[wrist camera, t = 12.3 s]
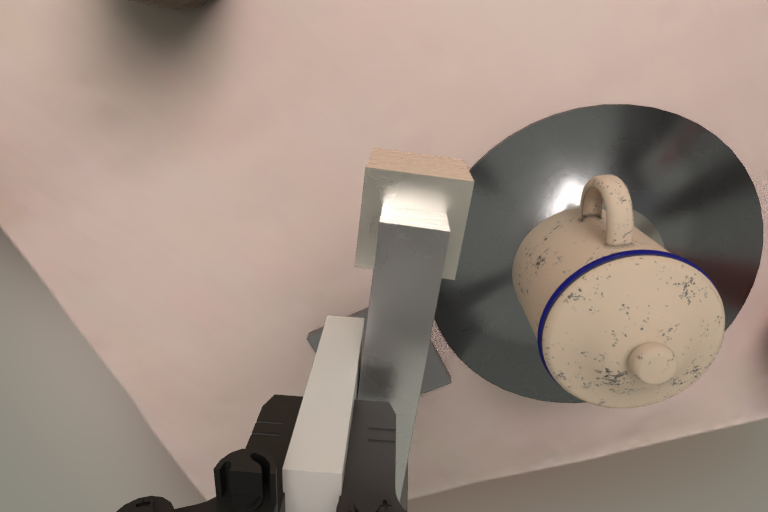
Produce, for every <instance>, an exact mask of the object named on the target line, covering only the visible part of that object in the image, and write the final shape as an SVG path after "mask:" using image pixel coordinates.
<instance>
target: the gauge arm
mask: <svg viewBox="0 0 768 512" xmlns="http://www.w3.org/2000/svg"><path fill="white" fill-rule="evenodd" d="M473 187H474V180H473V178H472V176H471V174H470V172H469V170H468V168H467V166H466V164H465V162H464V160H460V159H453V158H445V157H438V156H430V155H423V154H415V153H408V152H400V151H393V150H385V149H378V148H373V151H372V153H371V155H370V158H369V160H368V162H367V165H366V167H365V176H364V186H363V195H362V204H361V213H360V223H359V232H358V241H357V251H356V260H355V267H361V268H369V269H374V270H373V278H372V286H371V294H370V302H369V310H368V318H367V326H366V334H365V342H364V350H363V358H362V366H361V374H360V382H359V390H358V398H357V400H369V401H383V402H390V404H391V406H392V408H393V410H394V412H395V414H396V470H395V490H396V496H397V498H398V501H399V502H400V497H401V492H402V486H403V481H404V476H405V470H406V465H407V460H408V454H409V449H410V444H411V438H412V433H413V428H414V422H415V417H416V412H417V406H418V401H419V396H420V391H421V385H422V380H423V375H424V369H425V364H426V359H427V353H428V348H429V343H430V337H431V332H432V327H433V321H434V316H435V311H436V305H437V300H438V295H439V289H440V284H441V279H442V278H443V279H451V280H455V277H456V272H457V267H458V262H459V257H460V252H461V247H462V242H463V237H464V232H465V227H466V222H467V217H468V212H469V207H470V202H471V197H472V192H473Z"/></svg>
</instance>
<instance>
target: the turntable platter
mask: <svg viewBox="0 0 768 512" xmlns="http://www.w3.org/2000/svg"><path fill="white" fill-rule="evenodd" d="M469 172H470V174H471V176H472V178H473V180H474V187H473V192H472V197H471V202H470V207H469V212H468V217H467V222H466V227H465V232H464V237H463V242H462V247H461V252H460V257H459V262H458V267H457V272H456V277H455V280H451V279H443V278H442V279H441V284H440V289H439V295H438V300H437V305H436V311H435V316H434V317H435V320H436V322H437V324H438V326H439V329H440V331H441V333H442V335H443V336H444V338H445V339H446V341H447V342H448V344H449V346H450V347H451V348H452V349H453V351H454V352H455V353H456V354H457V355H458V357H459V358H460V359H461V360H462V361H463V362H464V363H465V364H466V365H468V366H469V367H470V368H471V369H472V370H473V371H474V372H476V373H477V374H479V375H480V376H482V377H483V378H484V379H486V380H487V381H489V382H491V383H493V384H495V385H497V386H499V387H501V388H503V389H505V390H507V391H510V392H513V393H515V394H518V395H521V396H525V397H529V398H533V399H537V400H543V401H550V402H560V403H582V402H586V401H583V400H581V399H579V398H577V397H575V396H573V395H572V394H570V393H569V392H567V391H566V390H565V389H563V388H562V387H561V386H560V385H558V384H557V383H556V382H555V381H554V380H553V378H552V377H551V376H550V375H549V373H548V372H547V370H546V369H545V367H544V365H543V363H542V360H541V357H540V354H539V349H538V342H537V338H536V336H535V334H534V332H533V329H532V327H531V325H530V323H529V321H528V318H527V316H526V314H525V312H524V310H523V307H522V305H521V303H520V301H519V299H518V296H517V294H516V292H515V289H514V285H513V278H512V269H513V262H514V258H515V255H516V252H517V250H518V248H519V246H520V244H521V243H522V241H523V240H524V238H525V237H526V236H527V235H528V233H529V232H530V231H531V230H532V229H533V228H534V227H535V226H537V225H538V224H539V223H541V222H542V221H543V220H545V219H547V218H548V217H550V216H552V215H554V214H557V213H559V212H562V211H565V210H569V209H574V208H580V200H581V195H582V191H583V188H584V186H585V185H586V183H587V182H588V181H589V180H590V179H591V178H593V177H595V176H599V175H614V176H617V177H618V178H620V179H621V180H622V181H623V182H624V184H625V185H626V187H627V189H628V191H629V194H630V198H631V202H632V207H633V226H635V227H636V228H637V229H639V230H640V231H641V232H643V233H644V234H645V235H647V236H648V237H649V238H651V239H652V240H654V241H655V242H656V243H658V244H659V245H660V246H662V247H663V248H664V249H666V250H667V251H668V252H670V253H672V254H675V255H678V256H680V257H682V258H685V259H687V260H689V261H690V262H692V263H694V264H695V265H696V266H698V267H699V268H700V269H702V270H703V271H704V272H705V273H706V274H707V275H708V277H709V278H710V279H711V280H712V282H713V283H714V285H715V286H716V288H717V291H718V293H719V295H720V298H721V300H722V303H723V307H724V313H725V329H724V332H725V331H726V329H727V328H728V327H729V326H730V324H731V323H732V322H733V321H734V319H735V318H736V316H737V314H738V313H739V311H740V310H741V308H742V306H743V305H744V303H745V301H746V299H747V297H748V295H749V293H750V291H751V288H752V286H753V284H754V281H755V278H756V275H757V271H758V268H759V265H760V259H761V253H762V247H763V220H762V213H761V206H760V202H759V199H758V196H757V193H756V190H755V187H754V184H753V182H752V180H751V178H750V177H749V175H748V173H747V171H746V169H745V167H744V166H743V164H742V163H741V162H740V160H739V159H738V158H737V157H736V155H735V154H734V153H733V151H732V150H731V149H730V148H729V147H728V146H727V145H725V144H724V143H723V142H722V141H721V140H720V139H719V138H718V137H717V136H716V135H714V134H713V133H711V132H710V131H708V130H706V129H705V128H703V127H702V126H700V125H699V124H697V123H695V122H693V121H691V120H688V119H686V118H684V117H682V116H679V115H677V114H674V113H671V112H667V111H663V110H660V109H656V108H652V107H645V106H637V105H629V104H611V105H597V106H590V107H582V108H577V109H573V110H569V111H566V112H562V113H558V114H555V115H552V116H550V117H547V118H545V119H542V120H540V121H537V122H535V123H533V124H530V125H529V126H527V127H525V128H523V129H521V130H520V131H518V132H516V133H514V134H512V135H511V136H509V137H508V138H506V139H505V140H503V141H502V142H501V143H499V144H498V145H497V146H495V147H494V148H492V149H491V150H490V151H489V152H488V153H486V154H485V155H484V156H483V157H482V158H481V159H480V160H479V161H478V162H477V163H476V164H475V165H474V166H473V167H472V168H471V169H470V170H469ZM602 209H604V210H605V205H604V201H603V207H602Z"/></svg>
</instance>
